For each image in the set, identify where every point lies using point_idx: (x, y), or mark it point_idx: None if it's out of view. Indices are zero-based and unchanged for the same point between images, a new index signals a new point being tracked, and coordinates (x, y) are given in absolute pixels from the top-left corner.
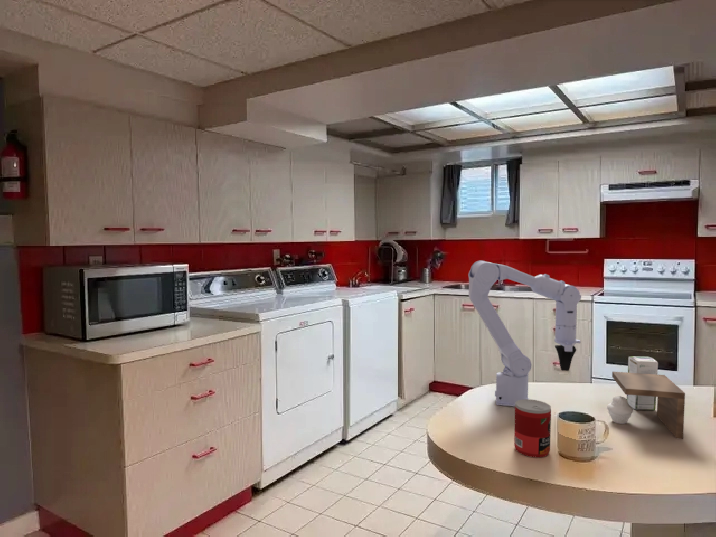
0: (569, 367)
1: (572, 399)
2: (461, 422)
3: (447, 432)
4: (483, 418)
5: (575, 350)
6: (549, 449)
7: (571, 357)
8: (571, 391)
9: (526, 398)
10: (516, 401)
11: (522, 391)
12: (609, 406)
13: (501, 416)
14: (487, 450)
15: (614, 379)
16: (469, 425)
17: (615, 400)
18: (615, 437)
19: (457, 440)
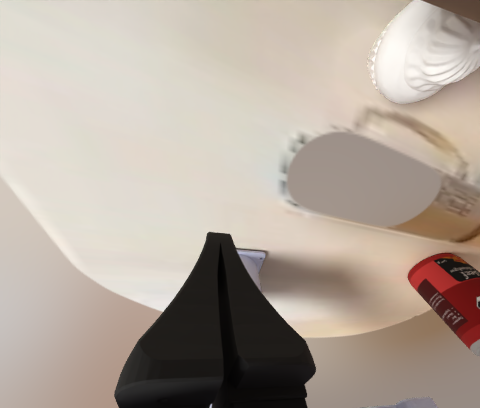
0: (233, 245)
1: (179, 140)
2: (317, 321)
3: (344, 328)
4: (306, 304)
5: (310, 357)
6: (463, 260)
7: (263, 299)
8: (77, 114)
9: (250, 266)
10: (478, 355)
11: (260, 290)
12: (416, 100)
13: (301, 288)
14: (405, 302)
15: (467, 16)
16: (328, 315)
17: (460, 79)
18: (465, 125)
19: (368, 321)
